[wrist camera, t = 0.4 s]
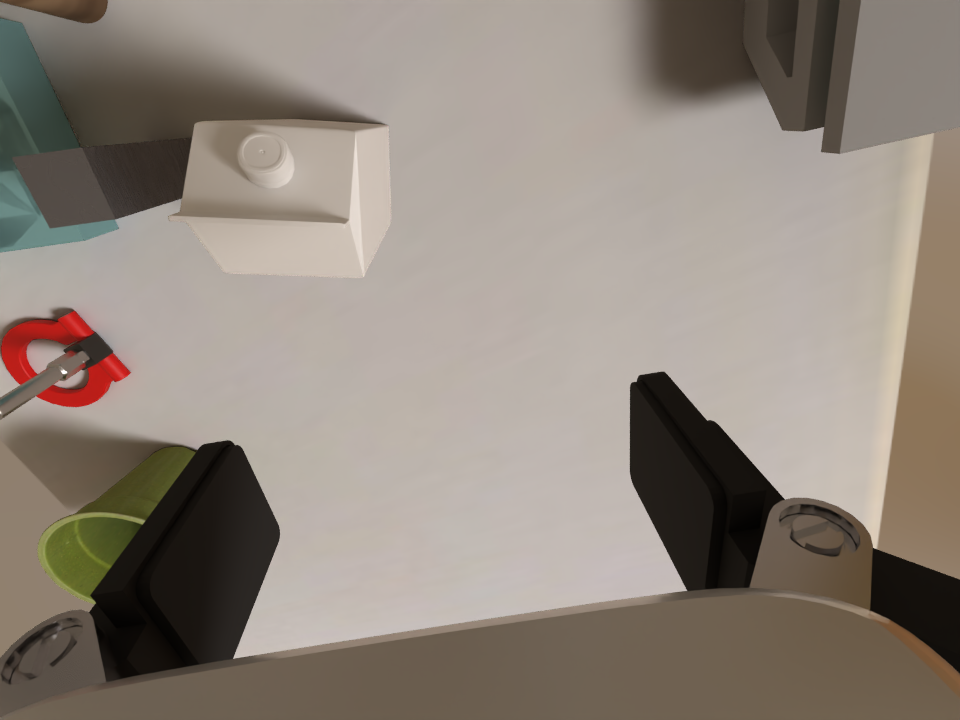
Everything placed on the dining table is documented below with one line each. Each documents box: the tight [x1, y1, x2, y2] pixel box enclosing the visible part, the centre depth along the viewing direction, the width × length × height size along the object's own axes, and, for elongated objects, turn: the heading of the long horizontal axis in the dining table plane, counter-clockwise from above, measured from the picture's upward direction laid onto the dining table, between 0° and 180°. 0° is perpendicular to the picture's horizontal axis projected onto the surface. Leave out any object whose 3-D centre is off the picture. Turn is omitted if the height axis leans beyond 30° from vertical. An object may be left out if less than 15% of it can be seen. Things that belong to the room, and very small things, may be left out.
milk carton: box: [168, 119, 391, 278], centre depth 28 cm, size 7×7×19 cm
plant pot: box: [38, 447, 196, 605], centre depth 44 cm, size 12×12×11 cm
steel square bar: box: [12, 138, 192, 229], centre depth 30 cm, size 4×4×12 cm
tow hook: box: [0, 311, 131, 420], centre depth 37 cm, size 8×13×9 cm
